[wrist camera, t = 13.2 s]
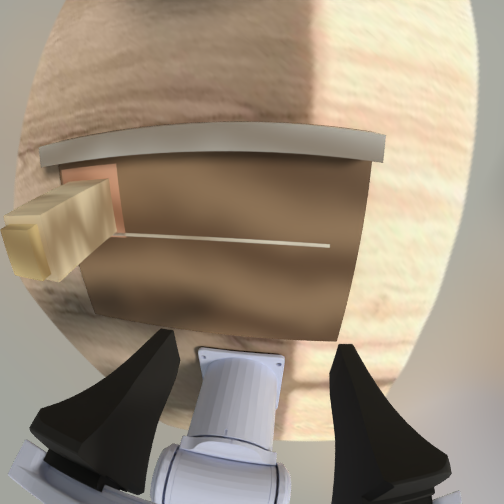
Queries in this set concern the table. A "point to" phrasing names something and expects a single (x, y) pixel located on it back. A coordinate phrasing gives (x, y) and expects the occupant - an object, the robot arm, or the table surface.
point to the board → (227, 224)
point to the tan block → (59, 229)
